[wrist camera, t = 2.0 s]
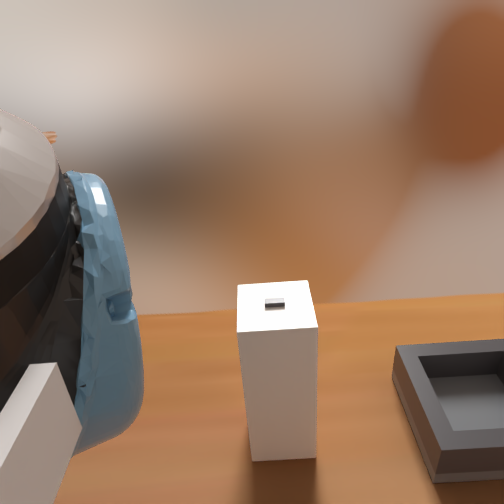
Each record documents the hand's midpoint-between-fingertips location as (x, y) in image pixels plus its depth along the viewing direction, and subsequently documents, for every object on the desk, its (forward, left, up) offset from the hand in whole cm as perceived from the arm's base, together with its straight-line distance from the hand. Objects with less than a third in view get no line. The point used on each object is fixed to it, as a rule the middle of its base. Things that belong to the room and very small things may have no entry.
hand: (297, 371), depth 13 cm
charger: (0, +11, -18) cm, 21 cm away
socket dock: (+14, +11, -18) cm, 25 cm away
